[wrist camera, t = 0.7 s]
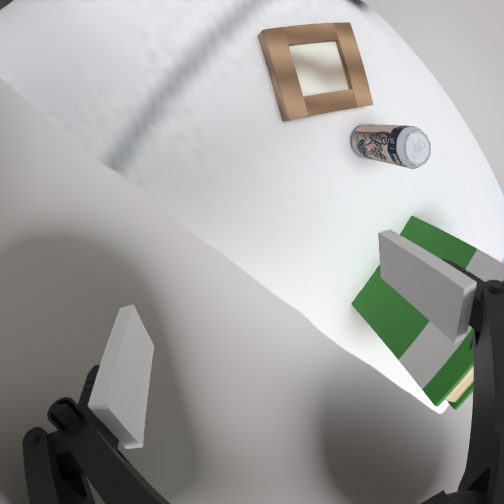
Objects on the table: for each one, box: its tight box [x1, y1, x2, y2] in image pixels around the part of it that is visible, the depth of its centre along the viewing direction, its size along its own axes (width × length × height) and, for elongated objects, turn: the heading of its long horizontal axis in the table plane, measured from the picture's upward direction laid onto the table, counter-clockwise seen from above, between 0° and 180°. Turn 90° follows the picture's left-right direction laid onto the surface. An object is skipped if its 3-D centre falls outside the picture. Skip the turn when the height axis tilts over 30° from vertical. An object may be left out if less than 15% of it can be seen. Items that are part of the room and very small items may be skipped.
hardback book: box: [352, 216, 504, 410], centre depth 37 cm, size 18×7×24 cm, turn 147°
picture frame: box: [258, 23, 373, 121], centre depth 33 cm, size 12×12×3 cm
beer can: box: [352, 125, 431, 169], centre depth 33 cm, size 5×5×12 cm
